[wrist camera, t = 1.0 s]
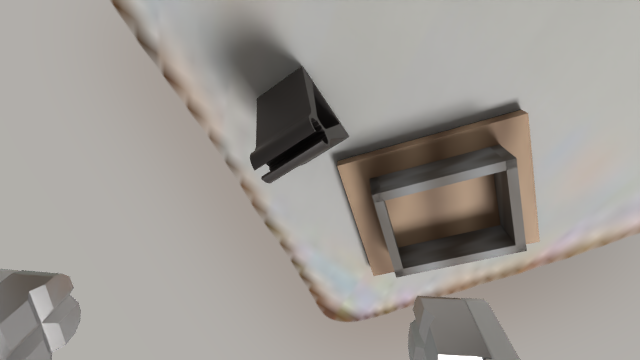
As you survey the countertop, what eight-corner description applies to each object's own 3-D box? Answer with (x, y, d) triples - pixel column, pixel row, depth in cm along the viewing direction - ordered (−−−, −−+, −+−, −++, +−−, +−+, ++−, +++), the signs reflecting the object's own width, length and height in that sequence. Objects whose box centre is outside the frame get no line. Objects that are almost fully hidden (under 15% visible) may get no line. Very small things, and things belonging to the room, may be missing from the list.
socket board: (521, 109, 36) (549, 124, 31) (533, 234, 42) (558, 263, 37) (337, 160, 40) (336, 181, 35) (372, 268, 46) (376, 298, 41)
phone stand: (348, 136, 39) (350, 181, 28) (305, 162, 40) (289, 215, 30) (303, 65, 36) (284, 85, 25) (257, 97, 38) (221, 129, 27)
